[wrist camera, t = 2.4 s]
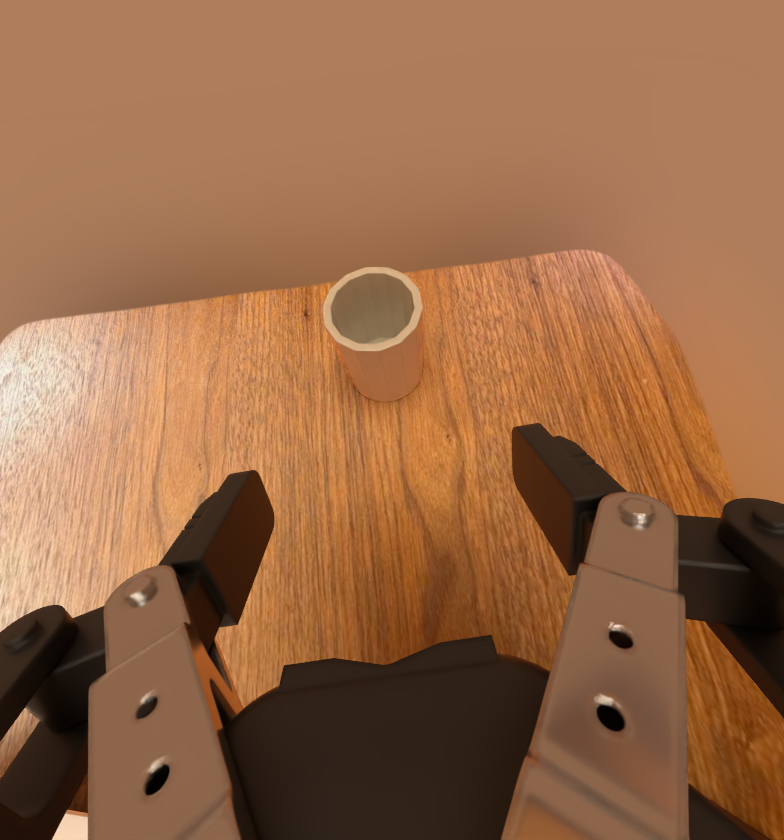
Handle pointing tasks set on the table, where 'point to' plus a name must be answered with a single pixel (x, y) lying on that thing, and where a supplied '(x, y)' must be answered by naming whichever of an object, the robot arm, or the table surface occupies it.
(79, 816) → the bowl
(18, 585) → the table surface
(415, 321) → the cup
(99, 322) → the table surface
